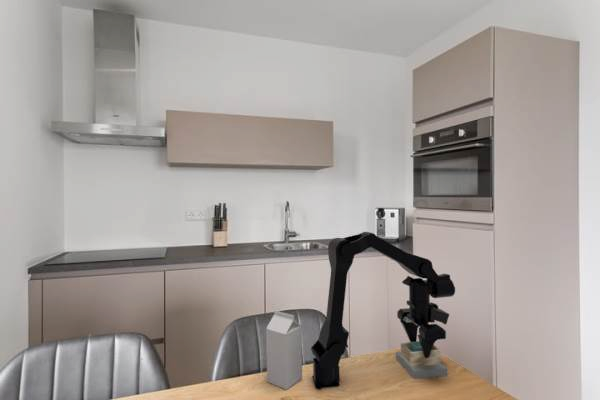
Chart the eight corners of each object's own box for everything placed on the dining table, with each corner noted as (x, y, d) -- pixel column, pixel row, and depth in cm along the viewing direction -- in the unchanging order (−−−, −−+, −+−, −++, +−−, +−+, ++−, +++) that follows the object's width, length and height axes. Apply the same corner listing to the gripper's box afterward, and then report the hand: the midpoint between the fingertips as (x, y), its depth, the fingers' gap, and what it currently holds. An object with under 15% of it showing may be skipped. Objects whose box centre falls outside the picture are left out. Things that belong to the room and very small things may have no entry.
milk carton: (286, 390, 91) (285, 319, 91) (266, 382, 96) (265, 314, 96) (302, 379, 97) (301, 312, 97) (283, 371, 101) (282, 307, 101)
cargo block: (417, 360, 100) (416, 348, 100) (410, 354, 104) (410, 342, 104) (429, 359, 100) (429, 347, 100) (422, 352, 104) (422, 341, 104)
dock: (414, 380, 95) (413, 371, 95) (396, 360, 107) (395, 352, 107) (447, 377, 97) (447, 368, 97) (426, 357, 109) (425, 349, 109)
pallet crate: (411, 366, 98) (411, 352, 98) (400, 355, 105) (400, 342, 105) (440, 364, 99) (440, 350, 99) (428, 353, 106) (428, 340, 106)
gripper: (463, 307, 94) (464, 364, 94) (428, 289, 112) (429, 337, 112) (425, 309, 92) (426, 367, 92) (396, 291, 111) (397, 339, 111)
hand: (420, 351), depth 102 cm, fingers open, 8 cm apart
